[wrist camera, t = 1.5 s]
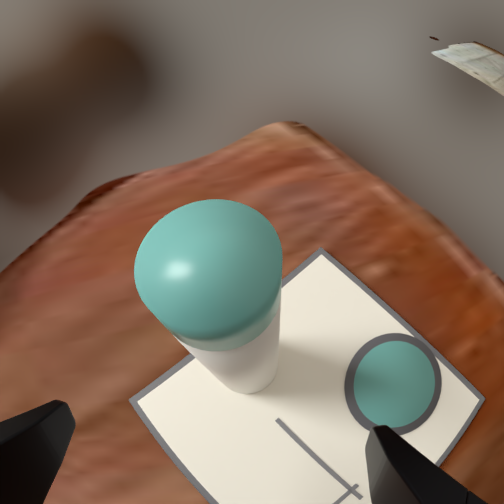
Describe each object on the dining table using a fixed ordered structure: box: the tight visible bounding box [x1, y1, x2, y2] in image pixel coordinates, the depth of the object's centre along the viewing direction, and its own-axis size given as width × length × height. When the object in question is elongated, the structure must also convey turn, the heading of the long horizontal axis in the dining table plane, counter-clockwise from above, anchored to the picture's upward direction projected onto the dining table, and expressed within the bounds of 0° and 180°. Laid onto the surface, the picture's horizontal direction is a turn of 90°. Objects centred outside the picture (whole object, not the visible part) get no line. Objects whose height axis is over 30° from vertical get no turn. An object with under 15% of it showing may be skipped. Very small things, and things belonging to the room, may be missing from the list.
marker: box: [134, 199, 282, 394], centre depth 13 cm, size 4×4×13 cm
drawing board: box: [129, 247, 485, 504], centre depth 17 cm, size 18×18×1 cm
